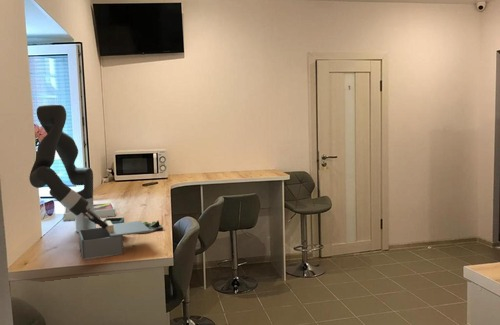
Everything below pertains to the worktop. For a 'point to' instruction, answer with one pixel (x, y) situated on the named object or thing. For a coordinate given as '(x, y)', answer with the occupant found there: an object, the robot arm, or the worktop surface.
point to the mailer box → (99, 243)
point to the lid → (126, 228)
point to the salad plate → (153, 226)
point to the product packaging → (99, 209)
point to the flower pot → (114, 220)
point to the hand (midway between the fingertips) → (105, 226)
